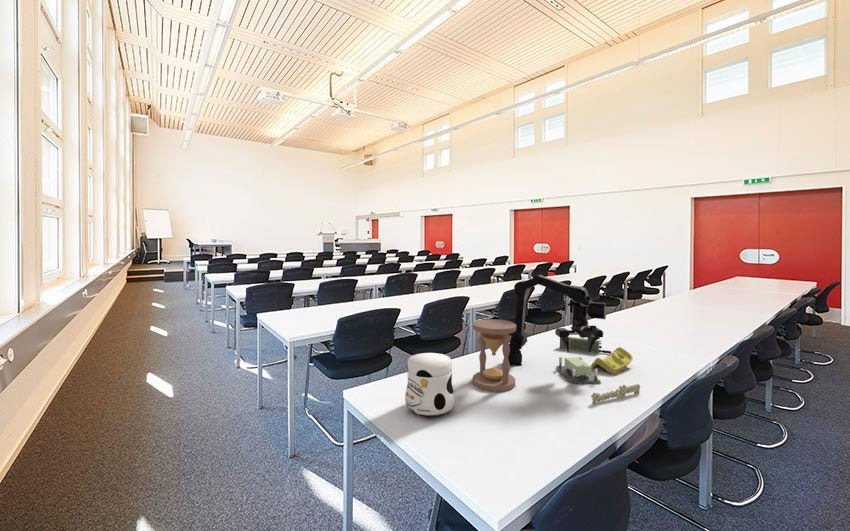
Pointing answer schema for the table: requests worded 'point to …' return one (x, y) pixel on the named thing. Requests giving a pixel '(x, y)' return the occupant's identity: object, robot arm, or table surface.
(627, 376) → the table surface
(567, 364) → the board
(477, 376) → the hourglass
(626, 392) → the decorative sign
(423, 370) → the milk container
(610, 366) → the plastic component
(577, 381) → the chassis
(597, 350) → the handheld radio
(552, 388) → the table surface
